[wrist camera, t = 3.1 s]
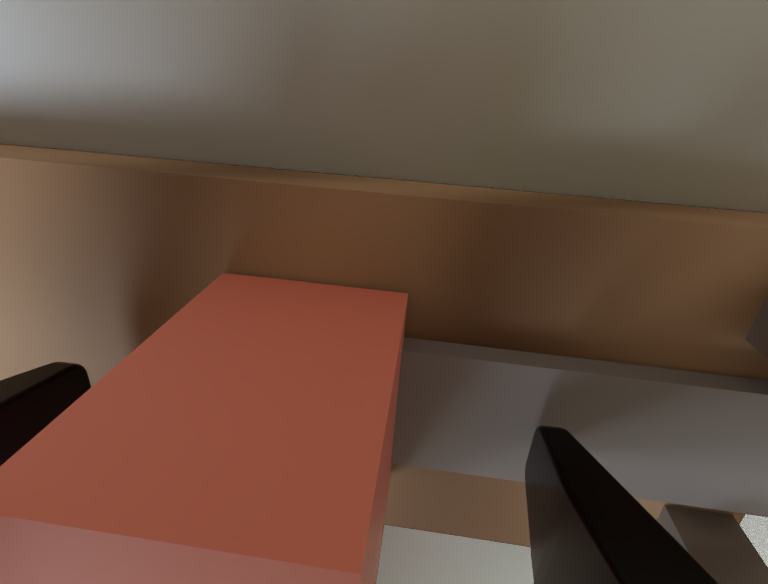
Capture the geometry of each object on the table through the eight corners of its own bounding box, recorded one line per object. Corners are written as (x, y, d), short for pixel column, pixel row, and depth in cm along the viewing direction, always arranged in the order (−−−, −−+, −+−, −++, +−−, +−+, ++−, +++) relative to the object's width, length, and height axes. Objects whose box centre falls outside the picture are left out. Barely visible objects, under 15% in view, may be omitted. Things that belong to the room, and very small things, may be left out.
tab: (895, 347, 6) (1637, 783, 2) (771, 532, 8) (1082, 962, 4) (222, 272, 7) (-48, 508, 3) (241, 455, 9) (81, 754, 5)
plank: (850, 220, 7) (1203, 342, 4) (684, 529, 10) (797, 740, 7) (-387, 109, 9) (-870, 125, 5) (-201, 399, 12) (-440, 517, 8)
